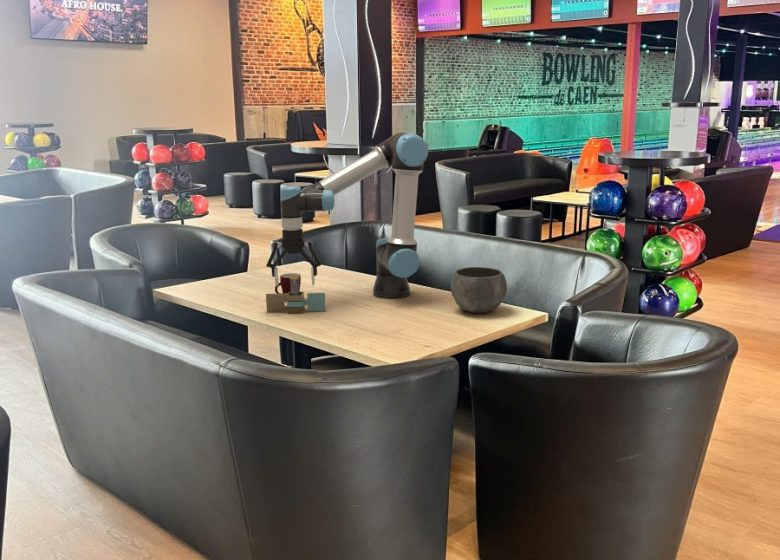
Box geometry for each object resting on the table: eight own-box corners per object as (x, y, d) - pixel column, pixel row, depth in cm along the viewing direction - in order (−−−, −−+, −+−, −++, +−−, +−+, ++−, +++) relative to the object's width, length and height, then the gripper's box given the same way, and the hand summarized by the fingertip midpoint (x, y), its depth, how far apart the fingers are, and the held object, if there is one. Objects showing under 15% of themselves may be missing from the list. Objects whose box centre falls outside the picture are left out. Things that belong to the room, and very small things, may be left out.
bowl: (441, 307, 293) (441, 268, 290) (489, 301, 300) (490, 263, 297) (465, 321, 274) (465, 280, 271) (516, 314, 282) (517, 274, 278)
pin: (300, 310, 293) (299, 274, 290) (300, 312, 290) (298, 276, 286) (292, 310, 293) (290, 274, 290) (291, 312, 290) (289, 276, 286)
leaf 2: (287, 313, 288) (286, 295, 287) (289, 308, 294) (288, 291, 292) (324, 312, 288) (324, 294, 287) (326, 308, 294) (325, 291, 292)
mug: (281, 304, 302) (279, 279, 299) (272, 300, 308) (270, 275, 306) (305, 300, 307) (304, 275, 305) (296, 296, 314) (294, 272, 312)
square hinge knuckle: (304, 309, 294) (304, 291, 292) (303, 313, 288) (302, 295, 287) (268, 310, 294) (267, 292, 292) (266, 314, 288) (264, 296, 287)
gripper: (327, 226, 288) (329, 281, 293) (260, 227, 288) (263, 283, 293) (325, 229, 280) (327, 286, 285) (256, 231, 280) (260, 287, 285)
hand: (295, 284), depth 289 cm, fingers open, 13 cm apart
